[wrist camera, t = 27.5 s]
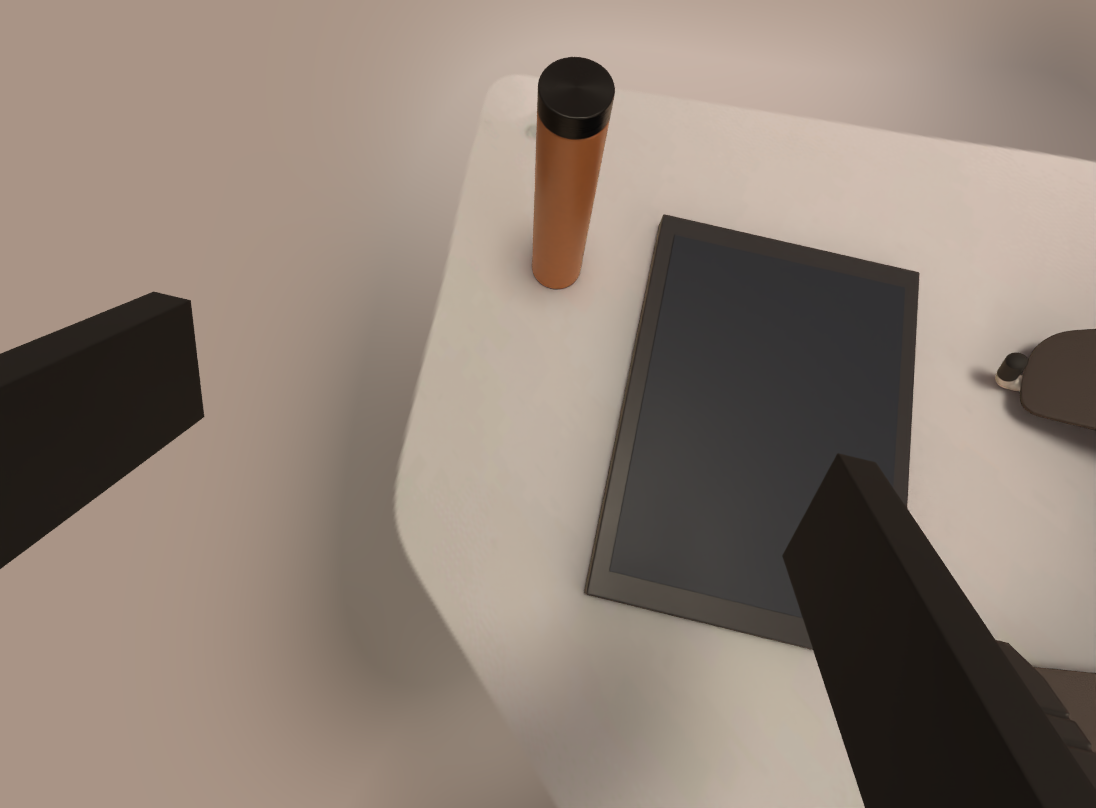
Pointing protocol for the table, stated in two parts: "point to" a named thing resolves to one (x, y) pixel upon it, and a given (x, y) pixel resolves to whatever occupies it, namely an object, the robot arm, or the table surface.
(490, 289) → the table surface
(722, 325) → the tablet
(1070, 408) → the laptop tray
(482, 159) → the table surface
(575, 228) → the copper cylinder
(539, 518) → the table surface
